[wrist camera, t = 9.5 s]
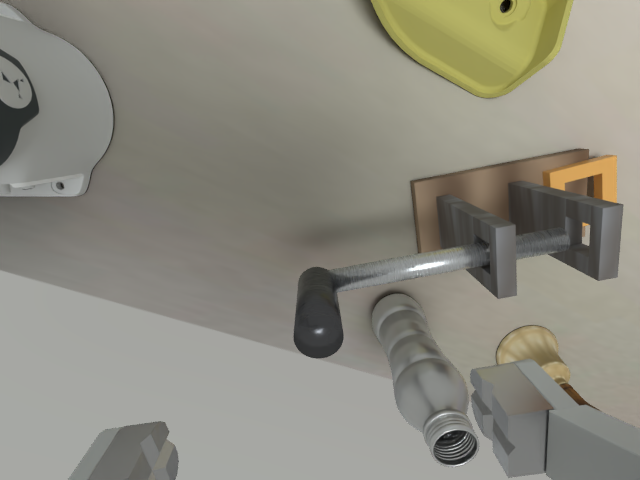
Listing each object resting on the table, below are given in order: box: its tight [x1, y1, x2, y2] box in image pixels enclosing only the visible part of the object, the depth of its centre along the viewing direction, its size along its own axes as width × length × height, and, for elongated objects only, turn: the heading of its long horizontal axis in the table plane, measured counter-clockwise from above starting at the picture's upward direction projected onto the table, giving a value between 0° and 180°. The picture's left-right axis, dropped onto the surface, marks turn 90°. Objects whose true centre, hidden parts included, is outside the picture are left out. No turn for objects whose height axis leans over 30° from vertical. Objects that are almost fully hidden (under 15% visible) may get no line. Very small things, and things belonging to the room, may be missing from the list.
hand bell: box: [496, 325, 602, 412], centre depth 39 cm, size 8×8×16 cm
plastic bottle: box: [372, 294, 479, 467], centre depth 35 cm, size 6×7×20 cm
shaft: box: [294, 228, 570, 358], centre depth 26 cm, size 23×3×9 cm, turn 101°
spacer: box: [543, 155, 617, 227], centre depth 38 cm, size 1×7×7 cm
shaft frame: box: [411, 149, 623, 299], centre depth 33 cm, size 19×10×14 cm, turn 101°
